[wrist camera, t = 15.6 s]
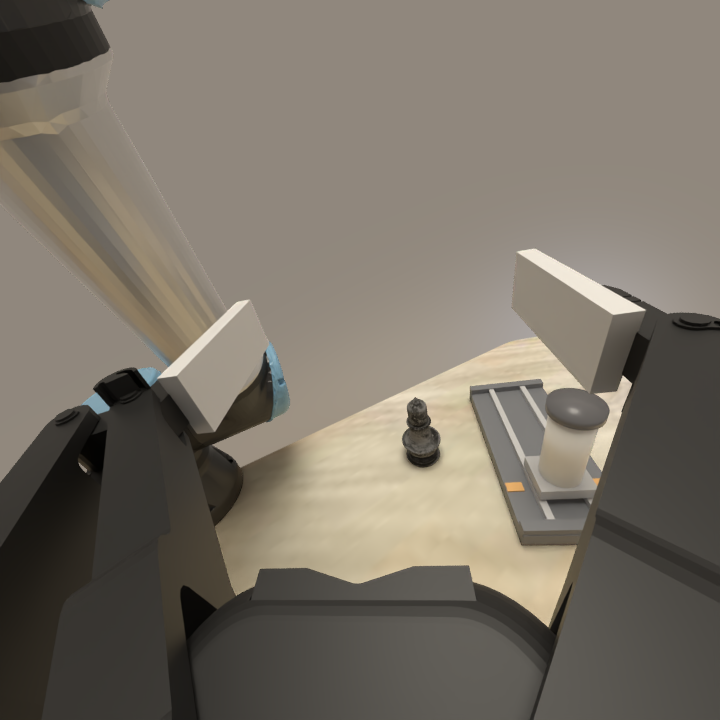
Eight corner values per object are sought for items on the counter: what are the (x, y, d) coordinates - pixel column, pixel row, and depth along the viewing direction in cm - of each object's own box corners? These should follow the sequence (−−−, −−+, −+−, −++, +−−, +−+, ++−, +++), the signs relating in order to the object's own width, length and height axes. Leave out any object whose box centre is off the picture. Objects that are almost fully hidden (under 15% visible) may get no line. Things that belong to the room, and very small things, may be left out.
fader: (540, 500, 35) (556, 425, 28) (523, 463, 39) (533, 391, 32) (596, 498, 34) (627, 420, 27) (573, 460, 38) (594, 385, 31)
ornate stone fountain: (398, 459, 47) (386, 404, 41) (415, 434, 51) (407, 380, 45) (431, 474, 44) (424, 417, 38) (447, 447, 47) (443, 390, 41)
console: (521, 545, 34) (524, 531, 32) (469, 398, 56) (469, 386, 54) (639, 543, 32) (648, 529, 30) (538, 391, 53) (540, 378, 52)
